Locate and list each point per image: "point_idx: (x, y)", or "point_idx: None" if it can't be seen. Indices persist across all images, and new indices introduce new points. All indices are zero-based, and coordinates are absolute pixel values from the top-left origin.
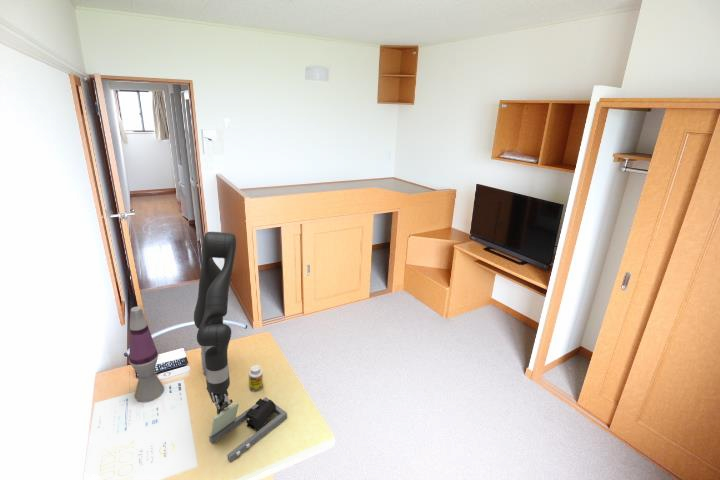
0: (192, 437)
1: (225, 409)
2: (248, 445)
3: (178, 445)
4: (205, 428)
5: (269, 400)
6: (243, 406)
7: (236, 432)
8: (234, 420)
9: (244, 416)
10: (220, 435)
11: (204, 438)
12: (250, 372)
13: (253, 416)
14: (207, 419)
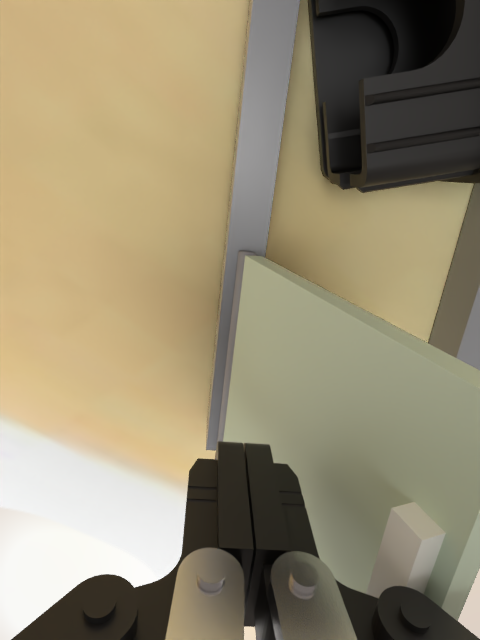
0: (91, 459)
1: None
2: None
3: (83, 527)
4: (88, 375)
5: None
6: (125, 17)
7: (301, 272)
8: (255, 255)
9: (279, 147)
10: None
11: (159, 423)
12: None
13: (471, 161)
14: (20, 319)
